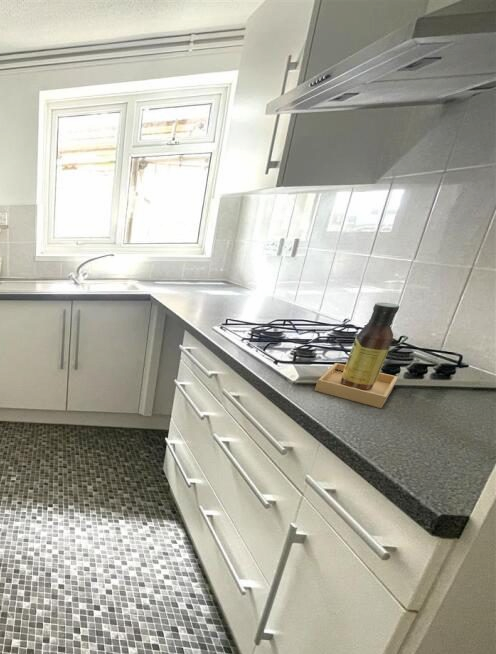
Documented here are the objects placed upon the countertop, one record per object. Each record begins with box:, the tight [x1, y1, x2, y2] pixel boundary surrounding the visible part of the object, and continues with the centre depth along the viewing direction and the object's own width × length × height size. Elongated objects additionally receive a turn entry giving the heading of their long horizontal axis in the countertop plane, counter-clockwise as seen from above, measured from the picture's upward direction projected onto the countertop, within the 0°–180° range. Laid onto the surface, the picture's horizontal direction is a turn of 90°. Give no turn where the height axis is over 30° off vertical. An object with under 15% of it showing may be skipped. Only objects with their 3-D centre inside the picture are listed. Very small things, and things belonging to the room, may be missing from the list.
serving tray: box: [314, 362, 399, 409], centre depth 99 cm, size 17×12×3 cm
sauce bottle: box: [341, 302, 400, 390], centre depth 96 cm, size 7×6×20 cm
